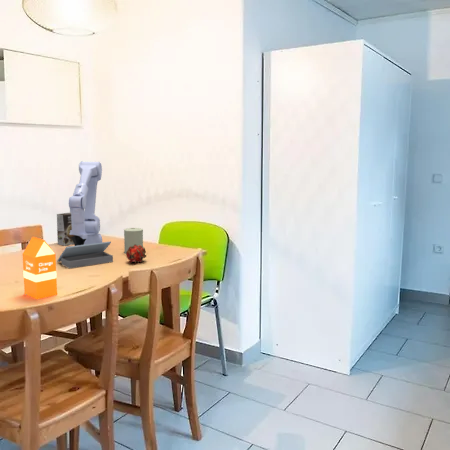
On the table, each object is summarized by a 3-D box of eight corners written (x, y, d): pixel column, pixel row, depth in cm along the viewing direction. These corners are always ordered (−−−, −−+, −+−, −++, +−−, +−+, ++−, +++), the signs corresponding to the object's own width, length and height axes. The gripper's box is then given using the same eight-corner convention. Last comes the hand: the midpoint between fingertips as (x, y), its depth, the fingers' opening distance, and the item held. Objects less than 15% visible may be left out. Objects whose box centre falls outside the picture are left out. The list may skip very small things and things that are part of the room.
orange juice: (36, 299, 166) (33, 241, 163) (24, 294, 172) (21, 237, 168) (57, 294, 172) (55, 238, 168) (45, 289, 177) (42, 235, 174)
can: (141, 250, 245) (141, 226, 243) (144, 254, 236) (144, 229, 234) (123, 251, 242) (122, 227, 240) (125, 255, 233) (125, 230, 232)
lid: (100, 255, 230) (98, 250, 230) (111, 242, 220) (109, 237, 221) (57, 262, 217) (55, 256, 218) (66, 248, 207) (65, 242, 208)
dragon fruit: (143, 262, 227) (133, 272, 215) (128, 251, 227) (117, 260, 215) (152, 249, 223) (142, 258, 212) (137, 237, 223) (127, 246, 212)
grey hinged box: (103, 258, 227) (103, 251, 226) (112, 261, 220) (112, 255, 219) (61, 264, 214) (61, 257, 213) (69, 268, 207) (69, 261, 207)
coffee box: (65, 246, 252) (64, 214, 250) (57, 244, 256) (56, 213, 253) (79, 243, 260) (78, 213, 257) (71, 241, 263) (70, 212, 261)
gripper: (63, 221, 224) (64, 250, 226) (76, 225, 213) (77, 256, 215) (78, 220, 228) (79, 248, 230) (91, 224, 217) (92, 254, 219)
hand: (79, 252), depth 223 cm, fingers closed
